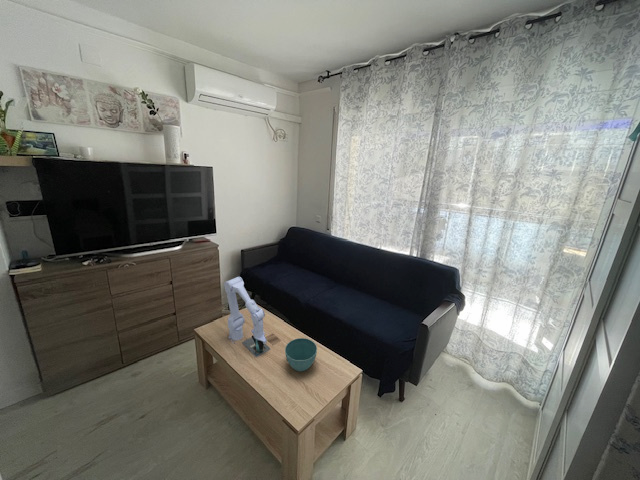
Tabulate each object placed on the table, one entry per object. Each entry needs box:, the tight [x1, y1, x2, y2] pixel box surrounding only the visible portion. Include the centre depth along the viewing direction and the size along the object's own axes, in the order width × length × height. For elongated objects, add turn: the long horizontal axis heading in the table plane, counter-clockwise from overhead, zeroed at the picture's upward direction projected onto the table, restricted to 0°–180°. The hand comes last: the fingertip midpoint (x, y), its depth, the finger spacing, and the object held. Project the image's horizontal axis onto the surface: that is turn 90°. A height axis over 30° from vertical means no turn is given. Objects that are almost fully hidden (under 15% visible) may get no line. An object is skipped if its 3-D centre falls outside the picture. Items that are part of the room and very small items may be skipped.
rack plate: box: [241, 336, 271, 358], centre depth 156 cm, size 17×10×3 cm, turn 45°
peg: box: [255, 339, 264, 353], centre depth 152 cm, size 4×4×8 cm
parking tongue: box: [265, 333, 282, 347], centre depth 163 cm, size 10×7×2 cm
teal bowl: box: [284, 337, 318, 372], centre depth 142 cm, size 18×18×12 cm
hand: (259, 347), depth 153 cm, fingers closed on peg, 4 cm apart
